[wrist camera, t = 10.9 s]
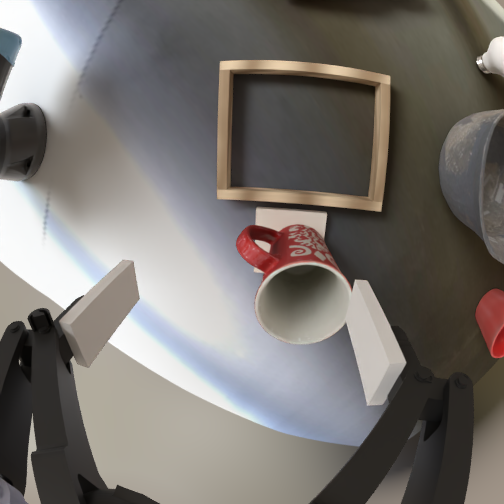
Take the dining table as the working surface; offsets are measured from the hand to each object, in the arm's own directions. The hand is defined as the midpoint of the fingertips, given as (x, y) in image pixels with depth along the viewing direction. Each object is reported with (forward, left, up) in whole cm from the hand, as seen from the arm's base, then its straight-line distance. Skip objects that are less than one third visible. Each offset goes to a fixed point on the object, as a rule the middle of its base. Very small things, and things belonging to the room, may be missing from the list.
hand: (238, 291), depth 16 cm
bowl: (+28, +9, -22) cm, 37 cm away
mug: (+3, -4, -21) cm, 22 cm away
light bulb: (+32, +27, -22) cm, 47 cm away
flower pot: (+44, -14, -22) cm, 51 cm away
